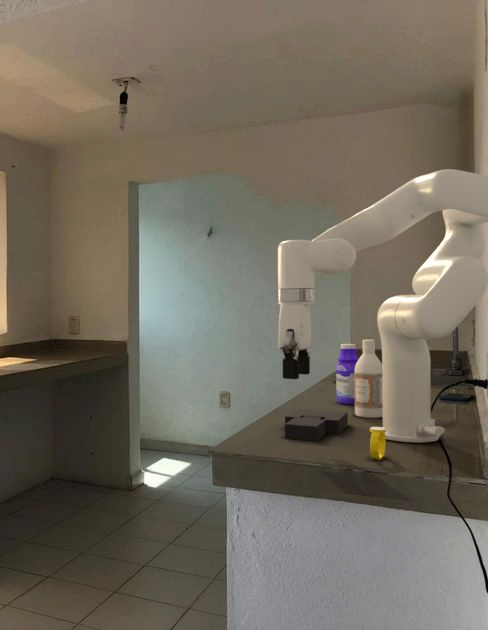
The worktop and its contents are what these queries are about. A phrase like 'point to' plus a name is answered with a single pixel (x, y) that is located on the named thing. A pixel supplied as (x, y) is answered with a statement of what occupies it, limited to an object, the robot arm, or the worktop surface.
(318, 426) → the tongue pad
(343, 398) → the bottle
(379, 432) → the watch
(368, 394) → the bath foam
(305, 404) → the worktop surface
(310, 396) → the worktop surface
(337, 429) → the notch pad
